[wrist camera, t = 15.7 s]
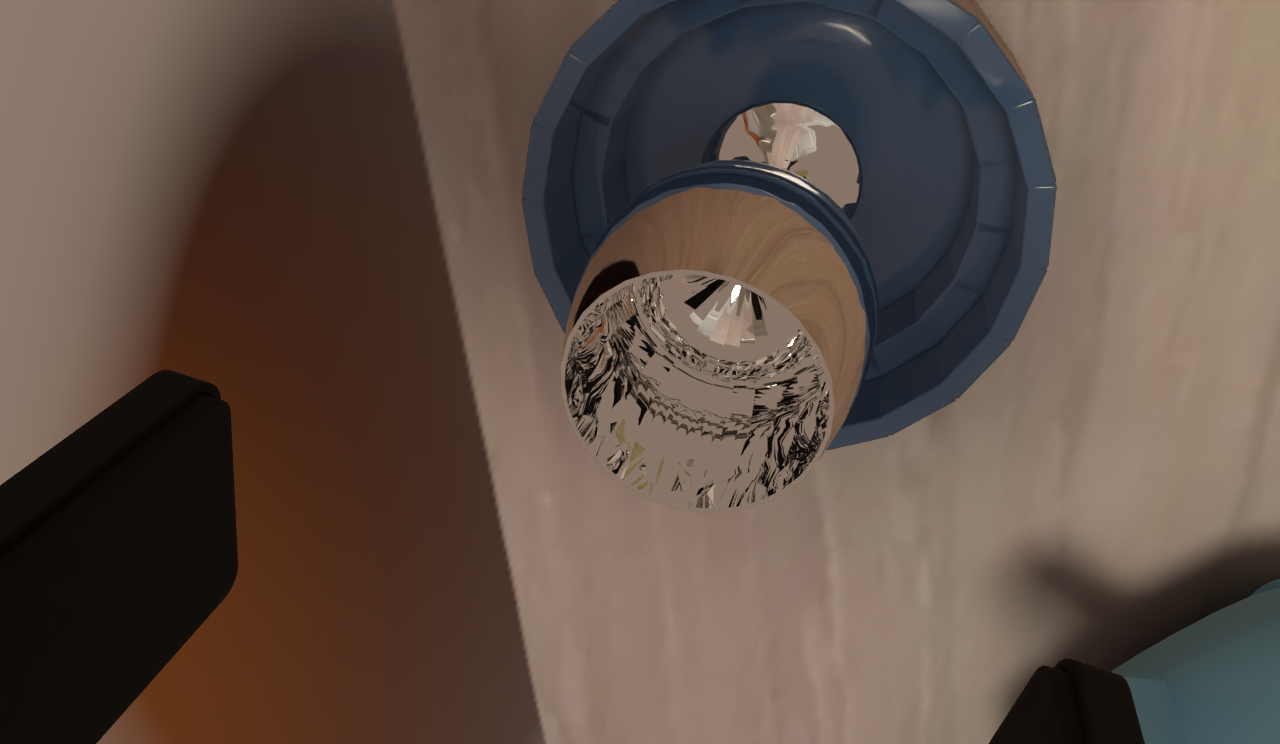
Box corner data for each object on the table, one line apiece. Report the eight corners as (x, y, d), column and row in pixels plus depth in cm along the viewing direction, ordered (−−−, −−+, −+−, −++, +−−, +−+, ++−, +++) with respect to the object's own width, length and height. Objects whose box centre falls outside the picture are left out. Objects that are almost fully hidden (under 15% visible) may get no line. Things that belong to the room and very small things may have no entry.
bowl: (554, 297, 30) (495, 371, 26) (627, -125, 23) (565, -120, 19) (929, 412, 28) (932, 510, 24) (1114, -3, 22) (1163, 32, 18)
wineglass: (933, 191, 25) (948, 430, 15) (771, 315, 28) (688, 586, 17) (790, 25, 24) (697, 156, 13) (636, 171, 26) (464, 371, 16)
